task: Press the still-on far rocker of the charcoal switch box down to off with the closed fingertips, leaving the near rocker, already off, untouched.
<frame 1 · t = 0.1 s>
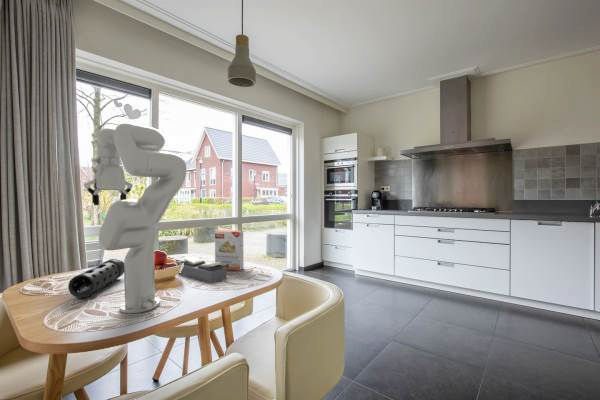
hand: (110, 204, 115), 37 cm above the table, tool pointing down, fingers open, 9 cm apart
cracker box: (229, 269, 151), on the table
switch box: (201, 275, 140), on the table
near rocker: (210, 265, 136), point 6 cm above the table, hinge at 9.0°
muzzle brake: (101, 289, 122), on the table
far rocker: (193, 261, 144), point 6 cm above the table, hinge at -9.0°
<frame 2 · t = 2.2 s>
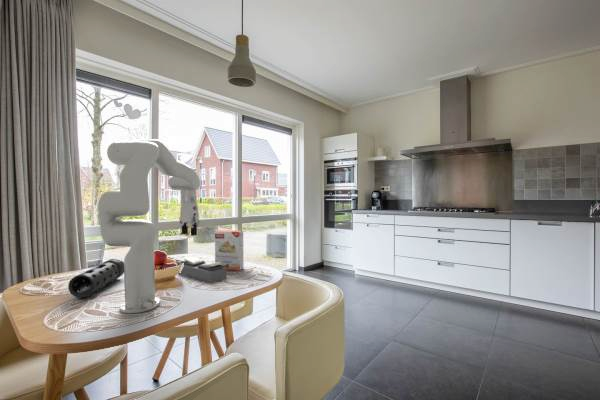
hand: (189, 234, 145), 20 cm above the table, tool pointing down, fingers open, 7 cm apart
nothing on the table moved.
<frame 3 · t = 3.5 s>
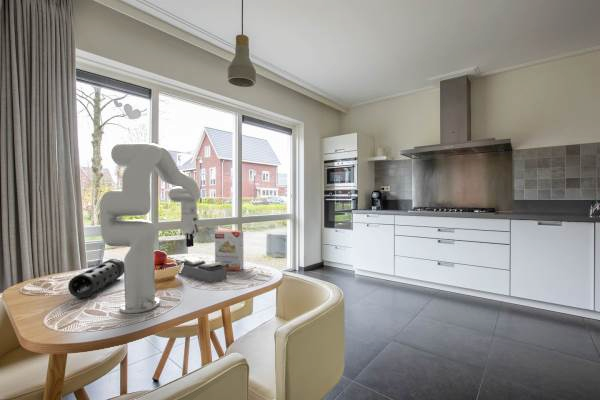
hand: (190, 246, 146), 14 cm above the table, tool pointing down, fingers closed
nothing on the table moved.
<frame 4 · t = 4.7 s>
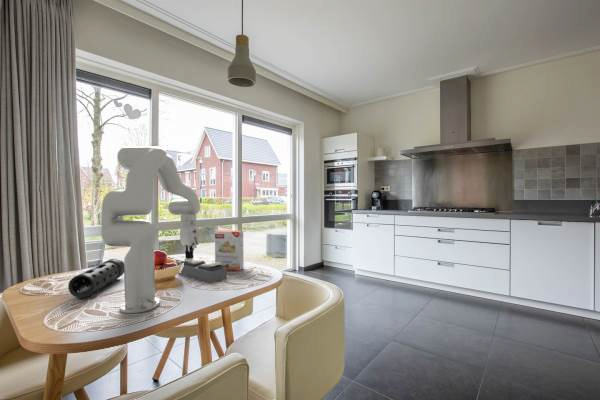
hand: (189, 258, 146), 7 cm above the table, tool pointing down, fingers closed
far rocker: (193, 261, 144), point 6 cm above the table, hinge at -7.2°, touching gripper
everything else where it was.
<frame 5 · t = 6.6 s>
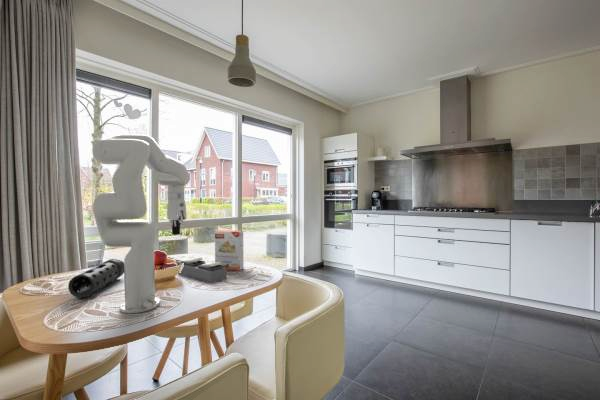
hand: (176, 234, 137), 21 cm above the table, tool pointing down, fingers closed
far rocker: (193, 261, 144), point 6 cm above the table, hinge at 12.2°
everything else where it was.
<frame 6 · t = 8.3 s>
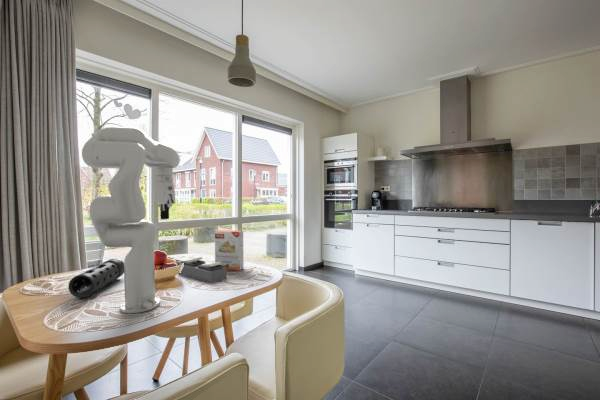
hand: (164, 218, 132), 29 cm above the table, tool pointing down, fingers closed
far rocker: (193, 261, 144), point 6 cm above the table, hinge at 18.2°, touching switch box
everything else where it was.
at the end: far rocker at +19° (first picture: -9°); near rocker at +9° (first picture: +9°); cracker box moved 0.2 cm from its start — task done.
